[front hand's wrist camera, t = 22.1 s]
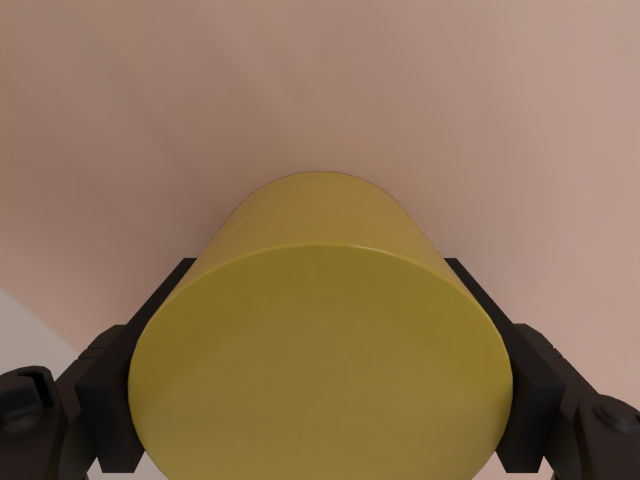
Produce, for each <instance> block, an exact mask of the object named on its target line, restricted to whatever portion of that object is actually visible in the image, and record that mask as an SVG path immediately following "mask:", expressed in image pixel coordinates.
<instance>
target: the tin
mask: <svg viewBox="0 0 640 480" xmlns="http://www.w3.org/2000/svg"><path fill="white" fill-rule="evenodd" d="M512 400H513V376H512V371H511V365H510V360H509V355H508V353H507V350H506V348H505V345H504V342H503V340H502V337H501V335H500V333H499V332H498V330H497V328H496V327H495V325H494V323H493V322H492V320H491V318H490V317H489V315H488V314H487V313H486V312H485V310H484V309H483V308H482V307H481V305H480V304H479V303H478V301H477V300H476V299H475V298H474V296H473V295H472V294H471V293H470V291H469V290H468V289H467V288H466V286H465V285H464V284H463V283H462V281H461V280H460V279H459V277H458V276H457V275H456V274H455V272H454V271H453V270H452V269H451V267H450V266H449V265H448V264H447V262H446V261H445V260H444V259H443V257H442V256H441V255H440V253H439V252H438V251H437V250H436V248H435V247H434V246H433V245H432V243H431V242H430V241H429V240H428V238H427V237H426V236H425V234H424V233H423V232H422V231H421V229H420V228H419V227H418V226H417V224H416V223H415V222H414V221H413V219H412V218H411V217H410V216H409V214H408V213H407V212H406V211H405V210H404V208H403V207H402V206H401V205H400V204H399V203H398V202H397V201H396V200H395V199H394V198H393V197H391V196H390V195H389V194H388V193H386V192H385V191H383V190H382V189H380V188H379V187H377V186H375V185H373V184H371V183H369V182H367V181H365V180H362V179H359V178H356V177H353V176H350V175H346V174H340V173H335V172H306V173H299V174H295V175H290V176H286V177H284V178H281V179H278V180H275V181H273V182H271V183H269V184H267V185H265V186H263V187H261V188H260V189H258V190H257V191H255V192H254V193H252V194H251V195H250V196H248V197H247V198H246V199H245V200H244V201H243V202H242V203H241V204H240V205H239V206H238V207H237V208H236V209H235V211H234V212H233V213H232V214H231V216H230V217H229V218H228V220H227V221H226V222H225V223H224V225H223V226H222V227H221V229H220V230H219V231H218V232H217V234H216V235H215V236H214V238H213V239H212V240H211V241H210V243H209V244H208V245H207V247H206V248H205V249H204V250H203V252H202V253H201V254H200V256H199V257H198V258H197V259H196V261H195V262H194V263H193V265H192V266H191V267H190V269H189V270H188V271H187V272H186V274H185V275H184V276H183V278H182V279H181V280H180V281H179V283H178V284H177V285H176V287H175V288H174V289H173V290H172V292H171V293H170V294H169V296H168V297H167V298H166V299H165V301H164V302H163V303H162V305H161V306H160V307H159V309H158V310H157V311H156V312H155V314H154V315H153V316H152V318H151V319H150V320H149V321H148V323H147V325H146V327H145V329H144V331H143V332H142V334H141V336H140V338H139V340H138V342H137V345H136V348H135V351H134V353H133V356H132V359H131V364H130V371H129V377H128V403H129V408H130V413H131V418H132V422H133V425H134V427H135V430H136V433H137V435H138V438H139V440H140V442H141V444H142V445H143V447H144V449H145V451H146V452H147V454H148V456H149V457H150V458H151V460H152V461H153V462H154V463H155V465H156V466H157V467H158V469H159V470H160V471H161V472H162V473H163V474H164V475H165V476H166V477H167V478H168V479H169V480H472V479H473V477H474V476H475V475H476V474H477V473H478V472H479V471H480V470H481V469H482V468H483V467H484V466H485V464H486V463H487V461H488V460H489V459H490V457H491V456H492V454H493V453H494V452H495V450H496V448H497V446H498V444H499V442H500V440H501V438H502V436H503V434H504V432H505V429H506V426H507V423H508V420H509V417H510V412H511V406H512Z"/></svg>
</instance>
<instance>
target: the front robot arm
mask: <svg viewBox="0 0 640 480" xmlns="http://www.w3.org/2000/svg"><path fill="white" fill-rule="evenodd" d="M196 259H197V258H184V259H183V260H182V261H181V262H180V263H179V265H178V266H177V267H176V268H175V269H174V270H173V271H172V273H171V274H170V275H169V276H168V277H167V278H166V279H165V281H164V282H163V283H162V284H161V285H160V286H159V288H158V289H157V290H156V291H155V292H154V293H153V294H152V296H151V297H150V298H149V299H148V300H147V301H146V303H145V304H144V305H143V306H142V307H141V308H140V309H139V311H138V312H137V313H136V314H135V315H134V316H133V317H132V319H131V320H130V321H129V322H128V323H127V324H126V325H114V326H112V327H111V328H109V329H108V330H106V331H104V332H103V333H101V334H100V335H98V336H97V338H96V339H95V340H94V341H93V342H92V343H91V344H90V345H89V346H88V348H87V349H85V350H84V351H83V352H82V353H81V354H80V355H79V357H78V360H75V361H74V362H73V363H72V364H71V365H70V366H69V367H68V368H67V369H66V370H65V371H64V372H63V373H62V374H61V376H60V377H59V378H58V379H57V380H56V381H55V382H54V380H53V377H52V374H51V371H50V370H49V369H47V368H46V367H44V366H28V367H22V368H18V369H15V370H12V371H9V372H6V373H4V374H2V375H0V480H89V478H88V475H87V471H88V470H89V468H90V467H91V465H92V463H93V462H94V460H95V459H96V457H97V458H98V461H99V464H100V467H101V470H102V473H134V471H135V469H136V467H137V465H138V463H139V461H140V459H141V457H142V455H143V453H144V451H145V449H144V447H143V445H142V444H141V442H140V440H139V438H138V435H137V433H136V430H135V427H134V425H133V422H132V418H131V413H130V408H129V403H128V377H129V371H130V364H131V359H132V356H133V353H134V351H135V348H136V345H137V342H138V340H139V338H140V336H141V334H142V332H143V331H144V329H145V327H146V325H147V323H148V321H149V320H150V319H151V318H152V316H153V315H154V314H155V312H156V311H157V310H158V309H159V307H160V306H161V305H162V303H163V302H164V301H165V299H166V298H167V297H168V296H169V294H170V293H171V292H172V290H173V289H174V288H175V287H176V285H177V284H178V283H179V281H180V280H181V279H182V278H183V276H184V275H185V274H186V272H187V271H188V270H189V269H190V267H191V266H192V265H193V263H194V262H195V261H196ZM443 259H444V260H445V261H446V262H447V264H448V265H449V266H450V267H451V269H452V270H453V271H454V272H455V274H456V275H457V276H458V277H459V279H460V280H461V281H462V283H463V284H464V285H465V286H466V288H467V289H468V290H469V291H470V293H471V294H472V295H473V296H474V298H475V299H476V300H477V301H478V303H479V304H480V305H481V307H482V308H483V309H484V310H485V312H486V313H487V314H488V315H489V317H490V318H491V320H492V322H493V323H494V325H495V327H496V328H497V330H498V332H499V333H500V335H501V337H502V340H503V342H504V345H505V348H506V350H507V353H508V355H509V360H510V365H511V371H512V376H513V400H512V406H511V412H510V417H509V420H508V423H507V426H506V429H505V432H504V434H503V436H502V438H501V440H500V442H499V444H498V446H497V448H496V450H495V451H496V453H497V455H498V457H499V459H500V461H501V463H502V465H503V467H504V469H505V471H506V473H538V471H539V468H540V465H541V462H542V459H543V456H544V457H545V458H546V460H547V461H548V463H549V464H550V466H551V468H552V469H553V471H554V472H553V475H552V478H551V480H640V412H639V411H638V410H637V409H635V408H633V407H632V406H630V405H628V404H627V403H625V402H623V401H621V400H618V399H615V398H613V397H610V396H607V395H601V394H599V393H598V392H597V391H596V390H595V389H594V388H593V387H592V386H591V385H590V384H589V383H588V382H587V381H586V380H585V379H584V378H583V377H582V376H581V375H580V374H579V373H578V371H577V370H576V369H575V368H574V367H573V366H572V365H571V364H570V363H569V362H568V361H567V360H566V359H565V358H563V356H562V355H561V354H560V353H559V352H558V350H557V349H556V348H553V345H552V344H551V343H550V342H549V341H548V340H547V339H546V338H545V337H544V336H543V335H542V334H541V333H539V332H538V331H536V330H535V329H533V328H531V327H530V326H528V325H527V324H513V323H512V322H511V321H510V320H509V318H508V317H507V316H506V315H505V314H504V313H503V312H502V310H501V309H500V308H499V307H498V306H497V305H496V303H495V302H494V301H493V300H492V299H491V298H490V297H489V295H488V294H487V293H486V292H485V291H484V290H483V289H482V287H481V286H480V285H479V284H478V283H477V282H476V280H475V279H474V278H473V277H472V276H471V275H470V274H469V272H468V271H467V270H466V269H465V268H464V267H463V266H462V264H461V263H460V262H459V261H458V260H457V259H456V258H443Z"/></svg>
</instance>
